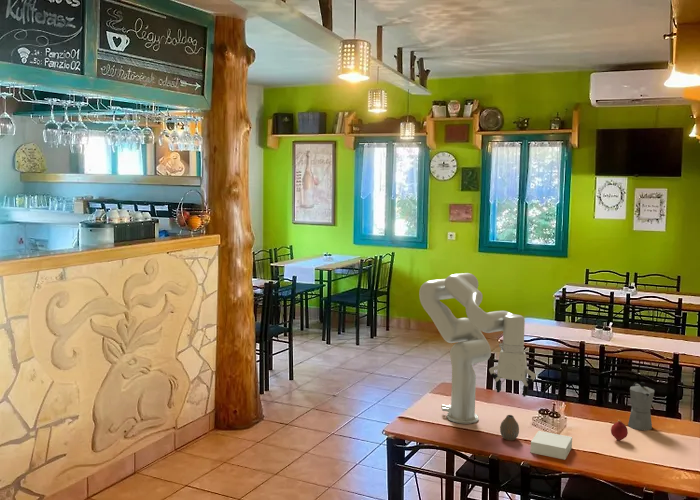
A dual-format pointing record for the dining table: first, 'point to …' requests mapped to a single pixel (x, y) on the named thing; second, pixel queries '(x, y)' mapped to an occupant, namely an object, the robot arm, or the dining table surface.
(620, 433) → the onion
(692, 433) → the dining table surface
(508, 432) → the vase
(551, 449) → the grey block
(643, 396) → the coffeepot
